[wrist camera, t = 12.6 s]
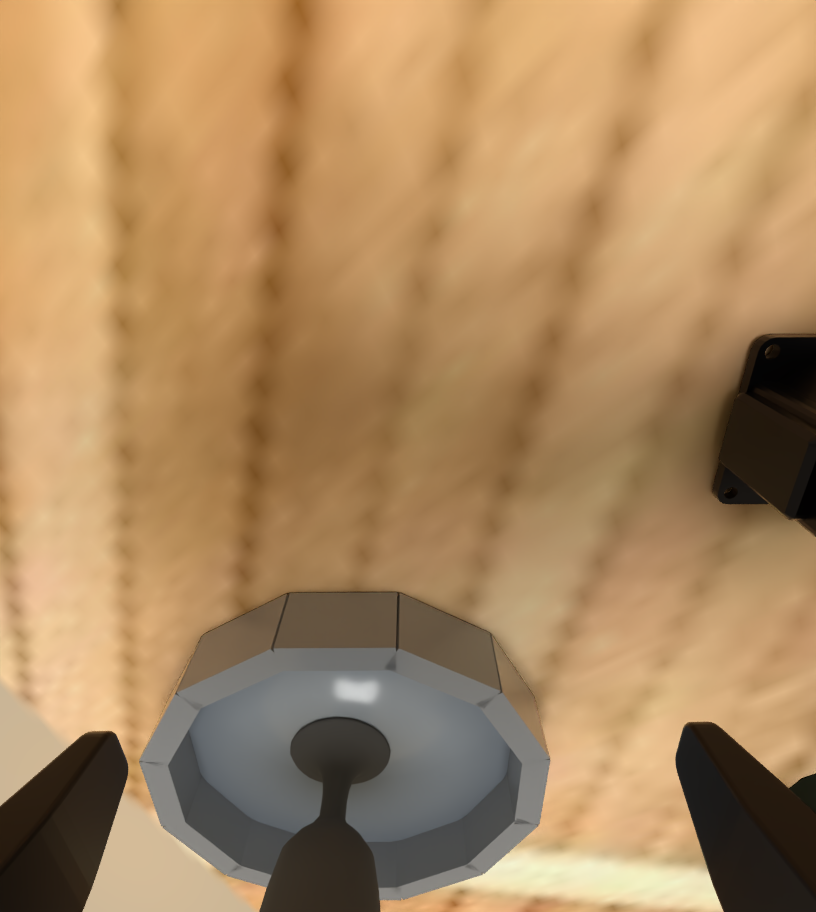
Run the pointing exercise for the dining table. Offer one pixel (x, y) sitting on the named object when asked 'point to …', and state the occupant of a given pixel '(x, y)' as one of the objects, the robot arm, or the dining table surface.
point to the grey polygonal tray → (362, 698)
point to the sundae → (330, 824)
